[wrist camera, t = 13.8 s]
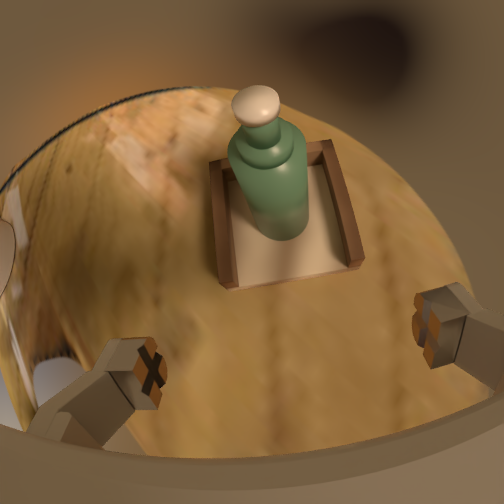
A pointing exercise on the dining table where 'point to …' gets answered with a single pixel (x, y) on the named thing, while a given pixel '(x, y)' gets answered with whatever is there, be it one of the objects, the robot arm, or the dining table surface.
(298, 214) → the bottle
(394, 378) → the dining table surface
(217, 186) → the u rest
